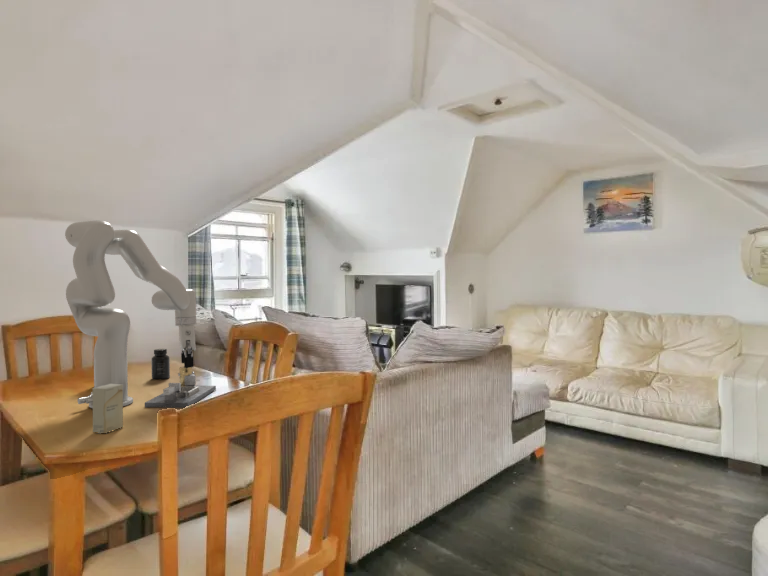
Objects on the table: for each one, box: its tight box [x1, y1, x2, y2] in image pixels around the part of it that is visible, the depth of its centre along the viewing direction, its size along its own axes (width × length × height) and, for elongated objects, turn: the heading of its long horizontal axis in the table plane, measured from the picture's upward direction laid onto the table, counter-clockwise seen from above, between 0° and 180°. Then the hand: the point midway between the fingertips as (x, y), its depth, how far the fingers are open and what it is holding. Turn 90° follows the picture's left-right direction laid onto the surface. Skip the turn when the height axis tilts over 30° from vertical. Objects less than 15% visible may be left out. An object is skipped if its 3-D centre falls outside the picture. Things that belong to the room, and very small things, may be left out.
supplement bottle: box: [150, 348, 171, 380], centre depth 195 cm, size 7×7×12 cm
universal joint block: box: [177, 366, 196, 386], centre depth 183 cm, size 6×4×7 cm
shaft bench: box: [144, 374, 217, 409], centre depth 164 cm, size 24×14×6 cm, turn 179°
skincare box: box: [92, 384, 124, 434], centre depth 129 cm, size 6×4×12 cm
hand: (187, 365), depth 183 cm, fingers open, 9 cm apart
